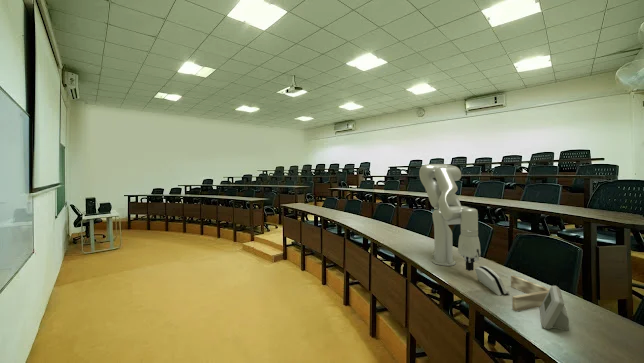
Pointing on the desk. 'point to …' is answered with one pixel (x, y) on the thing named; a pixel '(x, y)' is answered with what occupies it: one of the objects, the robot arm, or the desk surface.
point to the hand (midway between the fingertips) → (469, 269)
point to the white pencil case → (490, 280)
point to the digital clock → (554, 310)
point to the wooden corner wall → (532, 297)
